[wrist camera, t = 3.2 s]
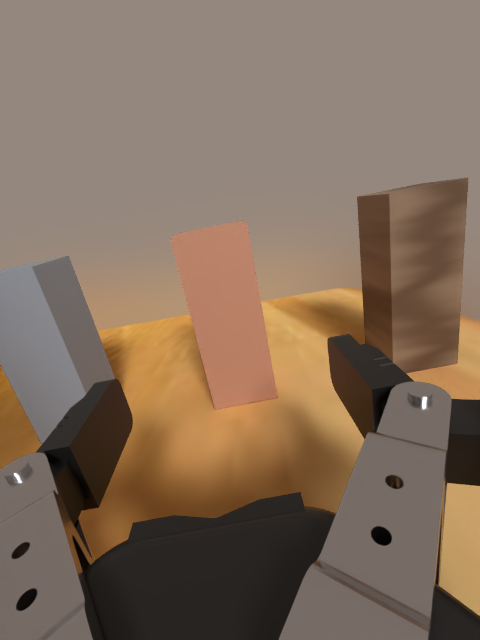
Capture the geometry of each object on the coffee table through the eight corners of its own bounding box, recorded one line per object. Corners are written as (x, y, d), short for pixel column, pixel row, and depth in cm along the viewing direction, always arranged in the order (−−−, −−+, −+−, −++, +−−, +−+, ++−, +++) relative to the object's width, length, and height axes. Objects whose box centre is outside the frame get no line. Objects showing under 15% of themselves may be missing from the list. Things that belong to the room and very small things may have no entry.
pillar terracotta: (215, 409, 22) (170, 238, 18) (216, 377, 26) (180, 232, 22) (277, 397, 22) (246, 222, 18) (268, 367, 26) (242, 220, 22)
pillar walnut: (393, 375, 22) (389, 193, 18) (365, 348, 26) (357, 196, 22) (457, 363, 22) (468, 177, 17) (419, 337, 26) (420, 183, 22)
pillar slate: (41, 443, 22) (-43, 282, 18) (70, 405, 26) (8, 268, 22) (102, 431, 22) (31, 266, 18) (121, 395, 26) (68, 255, 22)
